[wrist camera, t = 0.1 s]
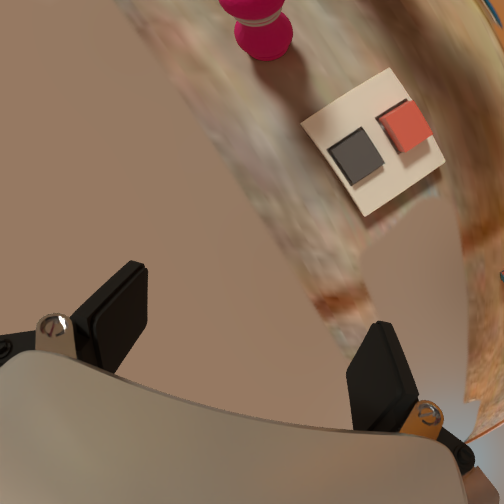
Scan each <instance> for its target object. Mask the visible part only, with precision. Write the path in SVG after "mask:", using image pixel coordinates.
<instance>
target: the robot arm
mask: <svg viewBox="0 0 504 504" xmlns="http://www.w3.org/2000/svg"><path fill="white" fill-rule="evenodd" d="M147 287H148V270H147V268H145V266H144V264H142V263H139V262H136V261H132V260H131V261H129V262H128V263H127V264H126V265H124V266H123V267H122V268H121V269H120V270H119V271H118V272H117V273H116V274H114V275H113V276H112V277H111V278H110V279H109V280H108V281H107V282H106V283H105V284H104V285H102V286H101V287H100V288H99V289H98V290H97V291H96V292H95V293H94V294H93V295H92V296H91V297H90V298H89V299H87V300H86V301H85V302H84V304H82V305H81V306H80V307H79V308H78V309H77V310H76V311H75V312H74V313H73V314H72V316H70V317H67V316H66V315H64V314H60V313H53V314H48V315H46V316H44V317H43V318H41V319H40V320H39V322H38V323H37V326H36V330H34V331H28V332H20V333H14V334H6V335H0V504H499V493H498V491H497V490H496V488H495V487H494V486H493V485H492V483H491V482H490V481H489V479H488V478H487V477H486V476H485V474H484V473H483V472H482V470H481V469H480V468H479V467H478V466H477V467H474V464H475V456H474V453H473V451H472V450H471V448H470V447H469V446H467V445H466V444H465V443H463V442H462V441H461V440H459V439H458V438H457V437H455V436H454V435H453V434H451V433H450V432H449V431H447V430H446V429H444V428H443V427H442V425H443V421H444V416H443V413H442V411H441V409H440V408H439V407H438V406H437V405H436V404H435V403H433V402H431V401H427V400H421V401H419V400H418V395H419V393H418V390H417V387H416V384H415V381H414V379H413V376H412V373H411V370H410V368H409V365H408V363H407V360H406V357H405V355H404V352H403V350H402V347H401V345H400V342H399V340H398V338H397V335H396V333H395V331H394V328H393V326H392V324H391V323H388V322H384V321H377V322H376V323H373V324H372V325H371V327H370V329H369V331H368V333H367V334H366V336H365V338H364V340H363V342H362V344H361V346H360V347H359V349H358V351H357V353H356V355H355V356H354V358H353V360H352V362H351V363H350V365H349V367H348V369H347V372H346V379H347V385H348V392H349V399H350V406H351V414H352V423H353V430H345V429H333V428H323V427H314V426H306V425H299V424H292V423H285V422H280V421H274V420H268V419H263V418H258V417H252V416H248V415H243V414H239V413H234V412H230V411H226V410H222V409H218V408H214V407H211V406H206V405H203V404H200V403H196V402H193V401H189V400H186V399H183V398H179V397H176V396H173V395H170V394H167V393H164V392H161V391H158V390H155V389H152V388H149V387H147V386H144V385H141V384H139V383H136V382H133V381H131V380H128V379H125V378H123V377H120V376H118V375H115V374H114V373H115V372H116V370H117V369H118V367H119V366H120V364H121V363H122V361H123V360H124V358H125V357H126V355H127V354H128V352H129V351H130V349H131V348H132V346H133V345H134V343H135V342H136V340H137V339H138V338H139V336H140V335H141V333H142V332H143V330H144V329H145V327H146V324H147V290H148V289H147Z"/></svg>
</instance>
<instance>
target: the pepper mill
mask: <svg viewBox="0 0 504 504" xmlns="http://www.w3.org/2000/svg"><path fill="white" fill-rule="evenodd" d="M284 1H285V0H219V2H220V4H221V6H222V7H223V9H224V10H225V11H226V12H227V13H229V14H230V15H232V16H233V17H234V18H235V19H236V20H237V22H236V25H235V29H234V34H235V38H236V41H237V43H238V45H239V46H240V47H241V48H242V49H243V50H244V51H245V52H247V53H248V54H249V55H250V56H252V57H253V58H255V59H258V60H261V61H271V60H275V59H278V58H280V57H281V56H283V55H284V54H285V53H286V51H287V49H288V47H289V44H290V43H291V41H292V37H293V29H292V25H291V22H290V21H289V19H288V18H287V17H286V15H285V14H284V13H282V12H281V10H282V6H283V3H284Z"/></svg>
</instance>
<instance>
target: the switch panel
mask: <svg viewBox="0 0 504 504" xmlns="http://www.w3.org/2000/svg"><path fill="white" fill-rule="evenodd" d="M411 100H412V99H411V98H410V96H409V95H408V93H407V92H406V90H405V89H404V87H403V86H402V84H401V83H400V81H399V80H398V78H397V77H396V76H395V74H394V73H393V71H392V70H391V69H390V67H389V68H388V69H386V70H384V71H382V72H381V73H379V74H377V75H375V76H374V77H372V78H370V79H369V80H367V81H365V82H364V83H362V84H360V85H359V86H357V87H355V88H354V89H352V90H351V91H349V92H347V93H346V94H344V95H343V96H341V97H339V98H338V99H336V100H335V101H333V102H332V103H330V104H328V105H327V106H325V107H324V108H322V109H321V110H319V111H318V112H316V113H315V114H313V115H312V116H310V117H309V118H307V119H306V120H304V121H303V122H301V123H300V125H301V126H302V128H303V129H304V130H305V132H306V133H307V134H308V136H309V137H310V138H311V140H312V141H313V142H314V144H315V145H316V146H317V148H318V149H319V151H320V152H321V153H322V155H323V156H324V158H325V159H326V160H327V162H328V163H329V165H330V166H331V168H332V169H333V171H334V172H335V174H336V175H337V176H338V178H339V179H340V181H341V183H342V184H343V186H344V187H345V189H346V190H347V192H348V193H349V195H350V196H351V198H352V200H353V201H354V203H355V204H356V206H357V208H358V209H359V211H360V212H361V213H362V214H363V216H364V217H366V216H367V215H369V214H370V213H372V212H373V211H375V210H376V209H378V208H379V207H381V206H382V205H384V204H385V203H387V202H388V201H390V200H391V199H393V198H394V197H396V196H397V195H398V194H400V193H401V192H403V191H404V190H406V189H407V188H409V187H410V186H412V185H413V184H415V183H416V182H417V181H419V180H420V179H422V178H423V177H425V176H426V175H428V174H429V173H430V172H432V171H433V170H435V169H436V168H438V167H439V166H440V165H442V164H443V163H445V162H446V161H445V159H444V157H443V155H442V153H441V151H440V149H439V147H438V145H437V143H436V141H435V139H434V137H433V135H431V136H430V137H428V138H427V139H425V140H424V141H422V142H421V143H419V144H418V145H416V146H415V147H413V148H412V149H410V150H409V151H407V152H406V153H405V152H400V151H398V149H397V147H396V146H395V144H394V142H393V141H392V139H391V137H390V136H389V134H388V132H387V131H386V129H385V128H384V126H383V125H382V123H381V121H380V120H379V118H381V117H382V116H384V115H386V114H387V113H389V112H390V111H392V110H394V109H395V108H397V107H398V106H400V105H402V104H403V103H405V102H407V101H411ZM359 130H364V132H365V133H366V135H367V136H368V138H369V140H370V141H371V143H372V144H373V146H374V147H375V149H376V151H377V152H378V154H379V155H380V157H381V159H382V160H383V162H384V164H383V165H381V166H380V167H378V168H377V169H375V170H374V171H372V172H371V173H369V174H368V175H366V176H365V177H363V178H362V179H360V180H359V181H357V182H356V183H354V184H353V183H352V182H351V181H350V180H349V179H348V177H347V176H346V174H345V173H344V171H343V170H342V168H341V167H340V165H339V164H338V162H337V161H336V159H335V158H334V157H333V155H332V154H331V152H330V151H329V150H330V149H331V148H333V147H334V146H336V145H337V144H339V143H340V142H342V141H343V140H345V139H346V138H348V137H349V136H351V135H352V134H354V133H355V132H357V131H359Z"/></svg>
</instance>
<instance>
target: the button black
mask: <svg viewBox="0 0 504 504" xmlns="http://www.w3.org/2000/svg"><path fill="white" fill-rule="evenodd" d="M329 151H330V152H331V154H332V155H333V157H334V158H335V159H336V161H337V162H338V164H339V165H340V167H341V168H342V170H343V171H344V173H345V174H346V176H347V177H348V179H349V180H350V181H351V182H352V183H353V184H354V183H356V182H357V181H359V180H360V179H362V178H363V177H365V176H366V175H368V174H369V173H371V172H372V171H374V170H375V169H377V168H378V167H380V166H381V165H383V164H384V162H383V160H382V159H381V157H380V155H379V154H378V152H377V151H376V149H375V147H374V146H373V144H372V143H371V141H370V140H369V138H368V136H367V135H366V133H365V132H364V130H359V131H357V132H355V133H354V134H352V135H351V136H349V137H348V138H346V139H345V140H343V141H342V142H340V143H339V144H337V145H336V146H334V147H333V148H331V149H330V150H329Z"/></svg>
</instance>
